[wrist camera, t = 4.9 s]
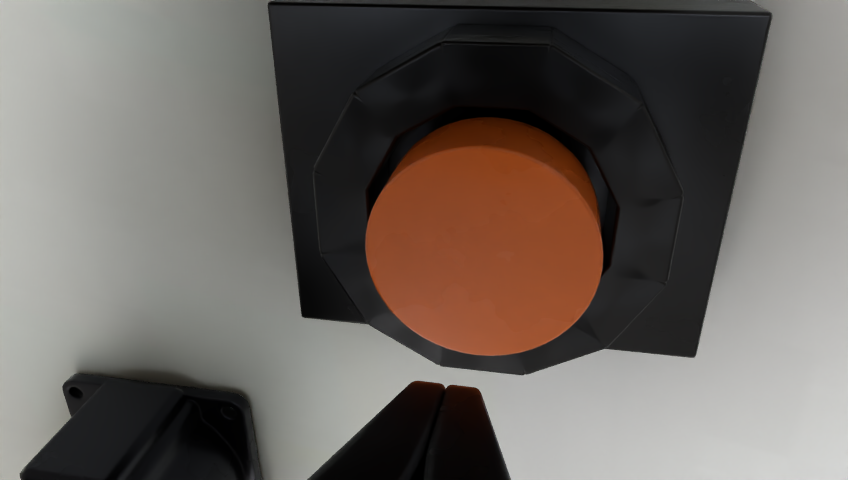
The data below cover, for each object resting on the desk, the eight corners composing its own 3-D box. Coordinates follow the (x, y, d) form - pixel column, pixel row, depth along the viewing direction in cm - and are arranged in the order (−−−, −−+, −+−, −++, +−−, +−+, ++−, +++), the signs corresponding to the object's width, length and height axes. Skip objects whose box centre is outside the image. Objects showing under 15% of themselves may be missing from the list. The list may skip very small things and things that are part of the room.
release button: (611, 121, 12) (618, 153, 11) (586, 318, 14) (589, 368, 13) (381, 110, 13) (358, 139, 12) (388, 299, 15) (369, 344, 14)
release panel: (752, -1, 14) (805, 29, 11) (685, 320, 18) (710, 410, 14) (294, -9, 15) (227, 15, 12) (321, 285, 19) (274, 359, 16)
